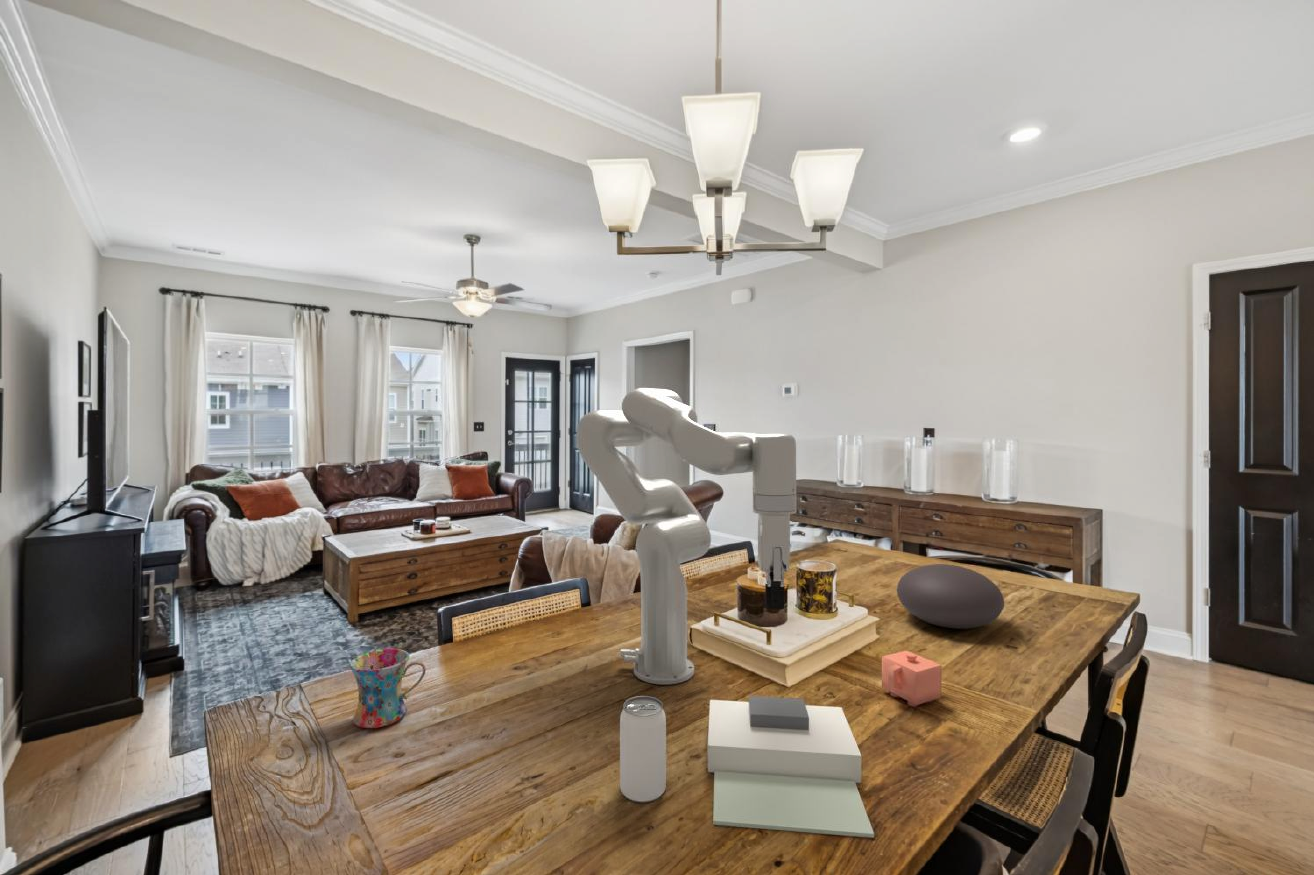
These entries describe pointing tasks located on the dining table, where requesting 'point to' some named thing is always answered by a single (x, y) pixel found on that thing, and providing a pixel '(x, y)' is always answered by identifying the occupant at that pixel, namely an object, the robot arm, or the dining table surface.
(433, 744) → the dining table surface
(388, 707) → the mug
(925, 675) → the pink cube teapot
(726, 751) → the plate
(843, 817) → the mat
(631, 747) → the can
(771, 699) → the tile
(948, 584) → the flattened ellipsoid
